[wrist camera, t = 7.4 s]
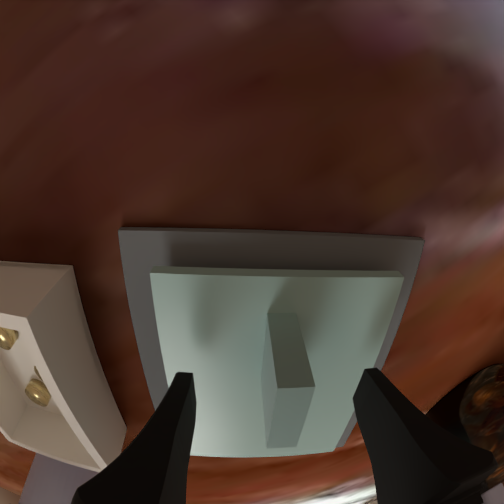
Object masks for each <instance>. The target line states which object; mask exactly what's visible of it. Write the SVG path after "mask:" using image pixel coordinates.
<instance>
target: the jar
mask: <svg viewBox="0 0 504 504" xmlns="http://www.w3.org/2000/svg"><path fill="white" fill-rule="evenodd" d="M426 416H427V417H428V418H429V419H431V420H432V421H434V422H435V423H436V424H438V425H439V426H440V427H442V428H443V429H445V430H446V431H448V432H450V433H451V434H453V435H455V436H456V437H458V438H460V439H462V440H464V441H466V442H468V443H470V444H472V445H475V446H477V447H480V448H483V449H486V450H488V451H491V452H492V453H493V455H494V457H495V459H496V461H497V463H498V468H497V469H496V470H495V471H494V472H493V473H492V474H491V475H490V476H489V477H488V478H486V479H485V480H484V481H483V482H481V483H480V484H481V486H482V490H480V491H479V492H480V494H481V495H482V494H483V493H485V492H486V491H488V490H490V489H491V488H493V487H495V486H496V485H498V484H500V483H502V484H503V486H504V364H496V365H493V366H490V367H488V368H486V369H484V370H482V371H480V372H478V373H477V374H475V375H473V376H472V377H470V378H469V379H467V380H466V381H464V382H463V383H462V384H460V385H459V386H458V387H456V388H455V389H454V390H453V391H451V392H450V393H449V394H448V395H446V396H445V397H444V398H443V399H442V400H441V401H440V402H439V403H437V404H436V405H435V406H434V407H433V408H432V409H431V410H430V411H429V412H428V413H427V414H426Z"/></svg>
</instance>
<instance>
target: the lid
mask: <svg viewBox="0 0 504 504" xmlns="http://www.w3.org/2000/svg"><path fill="white" fill-rule="evenodd" d="M150 279H151V287H152V295H153V302H154V309H155V316H156V323H157V329H158V335H159V341H160V347H161V352H162V358H163V363H164V368H165V373H166V378H167V383H168V388H169V387H170V385H171V383H172V381H173V379H174V376H175V374H176V373H177V372H189V373H193V377H194V386H195V394H196V401H197V406H196V422H195V429H194V435H193V440H192V446H191V452H190V455H195V456H212V457H275V456H292V455H304V454H314V453H323V452H331V451H334V449H335V447H336V445H337V443H338V442H339V440H340V438H341V436H342V434H343V432H344V430H345V428H346V426H347V424H348V422H349V420H350V418H351V416H352V414H353V412H354V410H355V409H354V404H353V396H354V393H355V391H356V389H357V386H358V384H359V381H360V379H361V376H362V374H363V371H364V369H367V368H373V367H374V364H375V362H376V359H377V357H378V354H379V352H380V349H381V346H382V344H383V341H384V338H385V335H386V333H387V330H388V327H389V324H390V321H391V318H392V315H393V312H394V309H395V306H396V303H397V300H398V297H399V294H400V290H401V287H402V284H403V280H404V276H403V275H402V274H401V273H400V272H399V271H355V270H286V269H241V268H205V267H174V266H153V268H152V269H151V271H150Z"/></svg>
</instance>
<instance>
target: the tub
mask: <svg viewBox="0 0 504 504" xmlns="http://www.w3.org/2000/svg"><path fill="white" fill-rule="evenodd" d="M0 327H3V328H7V329H12V330H16V331H18V334H19V337H18V339H17V341H16V342H15V343H14V345H13V346H12V348H11V349H10V350H5V349H3V348H1V347H0V431H1V432H2V434H3V435H4V436H5V437H6V438H7V439H8V441H10V442H12V443H14V444H17V445H19V446H21V447H24V448H26V449H29V450H31V451H34V452H36V453H39V454H41V455H44V456H47V457H50V458H53V459H55V460H58V461H61V462H64V463H68V464H71V465H74V466H77V467H81V468H84V469H88V470H92V471H95V472H101V471H102V470H103V469H104V468H105V467H107V466H108V465H109V464H110V463H111V462H113V461H114V460H115V459H116V458H117V457H118V456H119V455H120V454H121V450H122V446H123V442H124V438H125V434H126V431H127V427H126V425H125V423H124V420H123V418H122V416H121V414H120V412H119V409H118V407H117V405H116V402H115V400H114V397H113V395H112V393H111V390H110V388H109V385H108V383H107V380H106V377H105V375H104V372H103V369H102V367H101V364H100V361H99V358H98V355H97V352H96V349H95V346H94V343H93V340H92V337H91V334H90V331H89V327H88V324H87V321H86V317H85V314H84V310H83V306H82V303H81V299H80V295H79V291H78V287H77V283H76V278H75V274H74V269H73V265H58V264H41V263H24V262H9V261H0ZM34 366H36V368H37V370H38V372H39V374H40V376H41V378H42V380H43V381H42V380H41V379H40V378H39V377H38V376H37V375H36V373H35V371H34ZM32 378H34V379H38V380H40V381H42V382H43V383H44V384H45V385H46V387H47V389H48V391H49V393H50V394H51V396H52V397H51V399H50V401H49V403H48V405H47V406H46V407H43V406H40V405H38V404H36V403H34V402H33V401H32V400H30V399H29V398H28V396H27V395H26V393H25V388H26V386H27V385H28V383H29V381H30V380H31V379H32Z"/></svg>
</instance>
